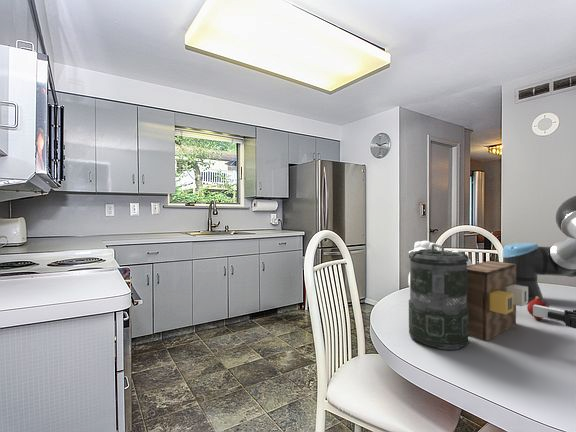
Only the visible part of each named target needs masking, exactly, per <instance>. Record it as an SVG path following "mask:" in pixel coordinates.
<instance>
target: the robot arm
mask: <svg viewBox="0 0 576 432" xmlns="http://www.w3.org/2000/svg"><path fill="white" fill-rule="evenodd" d="M555 222H556V225H557V227H558V228H559V230H560V231H561V232H562V233H563V234H564V235H565V236H566V237H568V238H567V239H565V240H562V241H557V242H555V243H554V244H552V245H551V246H539V245H538V244H537V243H535V242H517V243H516V242H515V243H509V244H506V245H505V246H503V249H502V250H503V251H502V262H504V263H512V264H516V285H520V286H526V287H528V304H529V302H530V301H532V300H534V299H535V297H539V298H540V299H541V300H543V299H544V297H543V293H542V291H541V288H540V286H539V283H538V276H559V277H569V278H573V277H576V195H574V196H572V197H570V198H568V199H566V200H564V202H562V203H561V205H560V206H559V207H558V208H557V211H556V214H555ZM543 301H544V300H543ZM533 316H537V317H542V318H543V319H547V320H552V321H556V322H559V323H564V324H565V326H566V327H568V328H572V329H576V309H573V310H568V309H565V310H563V309H558V308H553V307H549V306H548V307H544V306H540V305H533ZM533 316H532V317H533Z"/></svg>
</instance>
